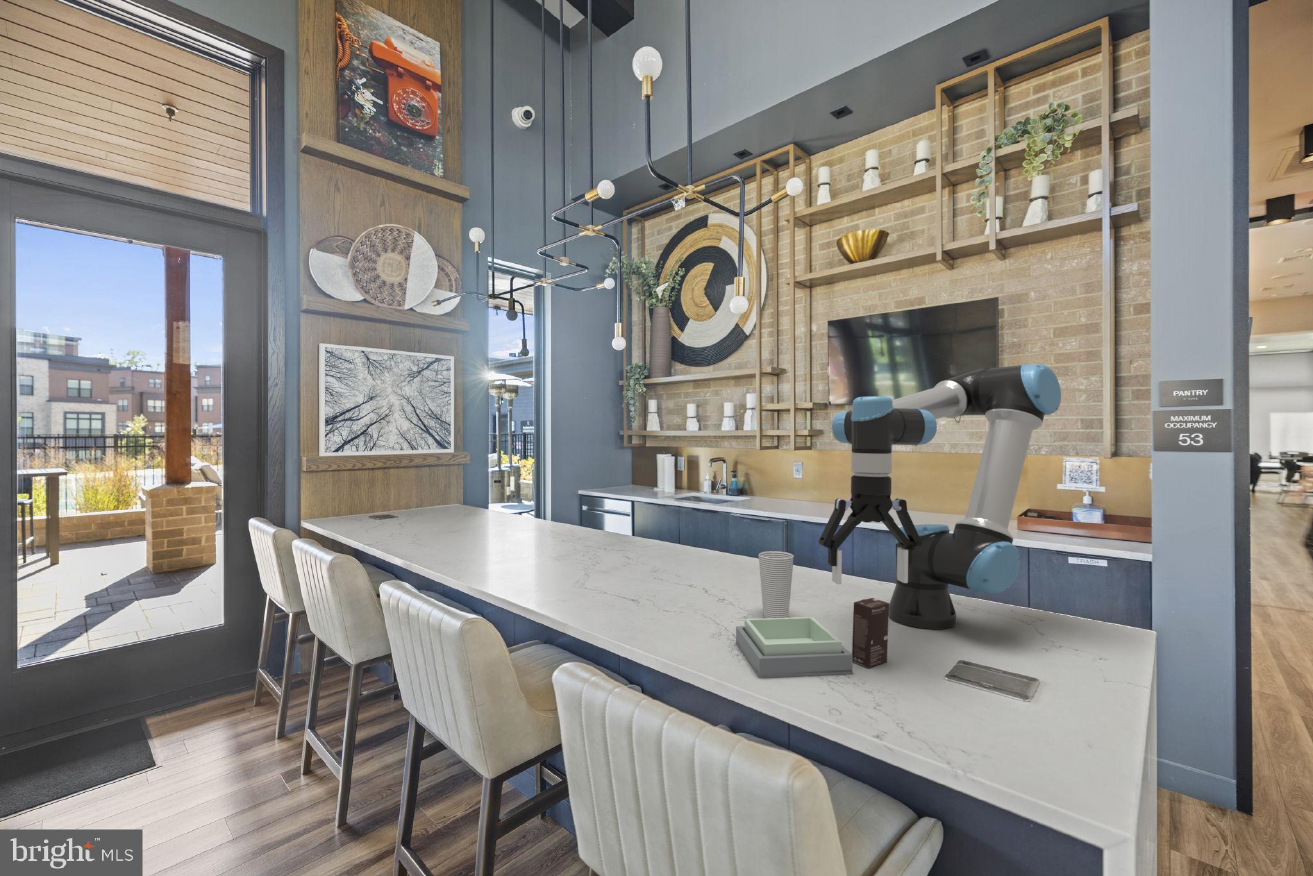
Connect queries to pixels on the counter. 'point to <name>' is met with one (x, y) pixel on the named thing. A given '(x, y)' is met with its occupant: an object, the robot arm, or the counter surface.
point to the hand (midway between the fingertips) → (869, 582)
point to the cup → (776, 582)
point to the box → (870, 632)
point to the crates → (792, 648)
